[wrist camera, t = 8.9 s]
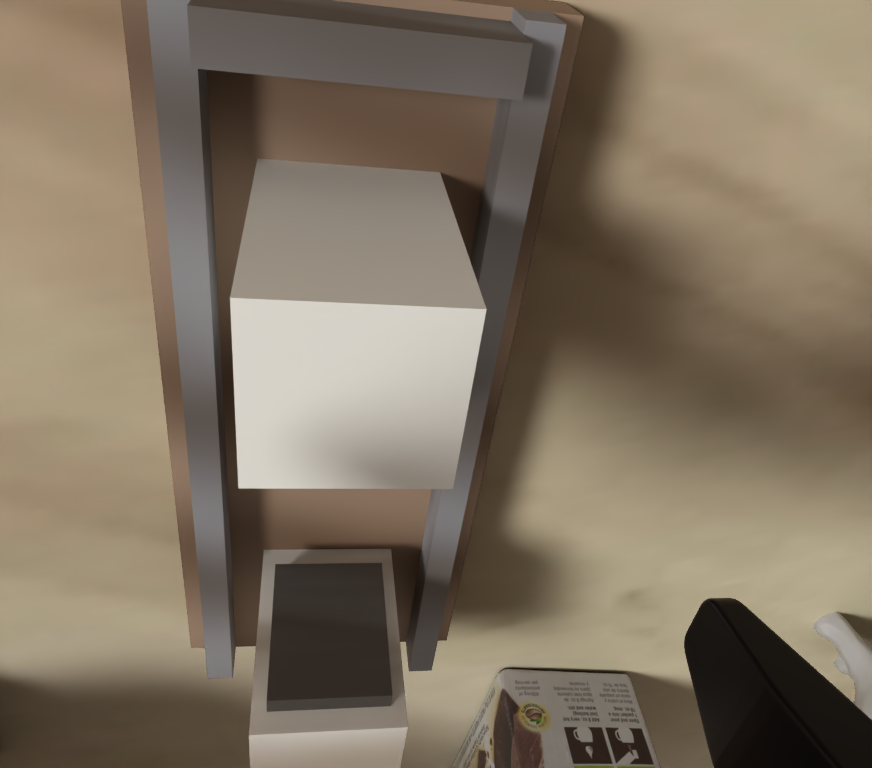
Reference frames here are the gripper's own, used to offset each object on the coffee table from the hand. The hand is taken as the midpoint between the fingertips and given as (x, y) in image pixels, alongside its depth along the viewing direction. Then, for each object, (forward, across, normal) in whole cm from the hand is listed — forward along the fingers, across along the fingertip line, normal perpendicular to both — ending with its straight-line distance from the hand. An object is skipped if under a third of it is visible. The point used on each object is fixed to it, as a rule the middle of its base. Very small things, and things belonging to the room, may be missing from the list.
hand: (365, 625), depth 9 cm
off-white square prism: (+10, 0, 0) cm, 10 cm away
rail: (+12, 0, +5) cm, 13 cm away
